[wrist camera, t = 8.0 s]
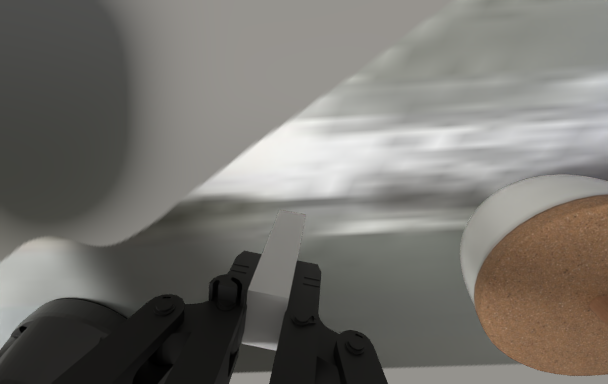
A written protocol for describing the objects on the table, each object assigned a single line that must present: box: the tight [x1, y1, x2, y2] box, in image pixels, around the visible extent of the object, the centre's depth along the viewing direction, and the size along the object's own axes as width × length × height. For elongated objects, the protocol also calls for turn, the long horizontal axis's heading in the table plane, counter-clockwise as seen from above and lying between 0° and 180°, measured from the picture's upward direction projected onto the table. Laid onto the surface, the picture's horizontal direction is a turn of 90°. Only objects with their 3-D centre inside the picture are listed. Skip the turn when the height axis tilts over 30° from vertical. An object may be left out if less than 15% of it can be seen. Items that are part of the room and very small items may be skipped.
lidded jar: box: [460, 174, 608, 376], centre depth 18 cm, size 11×11×9 cm
